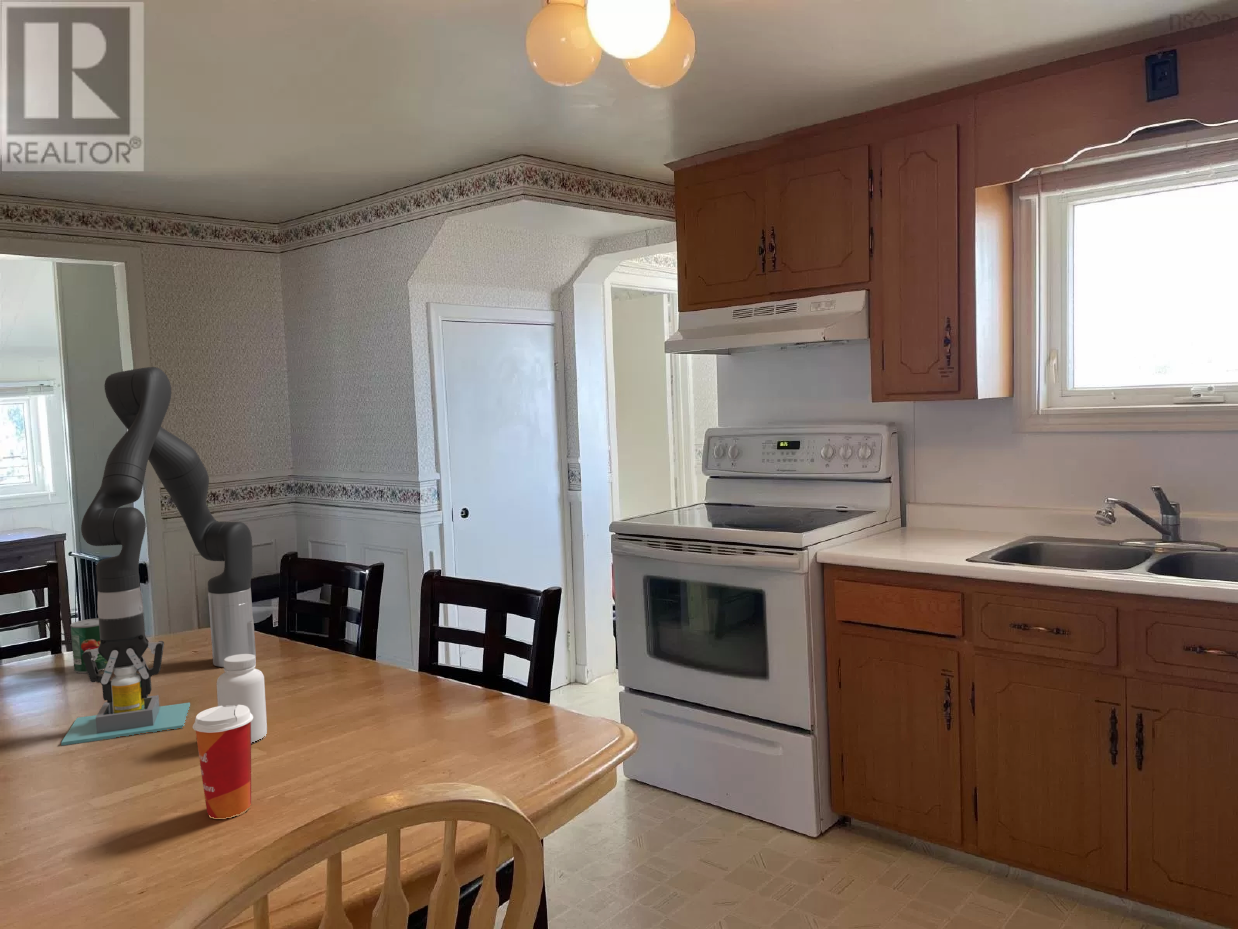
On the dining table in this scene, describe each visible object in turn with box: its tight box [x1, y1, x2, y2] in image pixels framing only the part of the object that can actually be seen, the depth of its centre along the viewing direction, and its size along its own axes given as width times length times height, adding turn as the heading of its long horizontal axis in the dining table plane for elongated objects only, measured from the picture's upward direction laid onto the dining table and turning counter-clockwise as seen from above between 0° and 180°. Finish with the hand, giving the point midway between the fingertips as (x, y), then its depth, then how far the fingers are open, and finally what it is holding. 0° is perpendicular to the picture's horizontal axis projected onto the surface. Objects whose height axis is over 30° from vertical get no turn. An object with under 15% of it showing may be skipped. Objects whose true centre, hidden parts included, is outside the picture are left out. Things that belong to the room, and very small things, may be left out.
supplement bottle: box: [110, 665, 145, 714], centre depth 174 cm, size 5×5×10 cm
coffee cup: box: [192, 705, 253, 818], centre depth 135 cm, size 8×8×15 cm
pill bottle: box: [216, 654, 268, 744], centre depth 165 cm, size 8×8×15 cm
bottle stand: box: [61, 694, 191, 747], centre depth 175 cm, size 20×14×4 cm
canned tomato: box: [69, 617, 108, 674], centre depth 213 cm, size 8×8×11 cm
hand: (127, 699), depth 174 cm, fingers closed on supplement bottle, 5 cm apart
